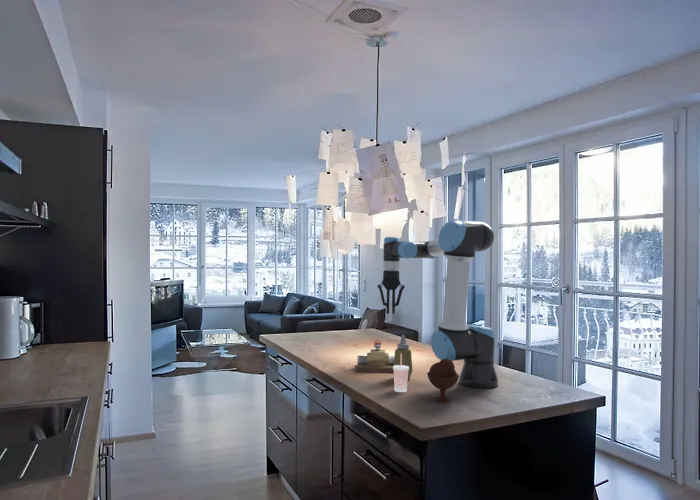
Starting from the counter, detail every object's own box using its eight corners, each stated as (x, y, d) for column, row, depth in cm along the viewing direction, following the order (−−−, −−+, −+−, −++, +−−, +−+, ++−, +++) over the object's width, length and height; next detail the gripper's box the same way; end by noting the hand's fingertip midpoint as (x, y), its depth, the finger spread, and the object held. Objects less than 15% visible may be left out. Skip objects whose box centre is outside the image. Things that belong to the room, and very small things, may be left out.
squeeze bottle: (396, 381, 207) (397, 337, 207) (390, 376, 215) (390, 333, 215) (415, 380, 209) (416, 336, 209) (408, 375, 217) (408, 333, 217)
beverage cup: (408, 393, 191) (408, 355, 191) (391, 392, 192) (392, 354, 192) (409, 388, 197) (409, 352, 197) (393, 387, 198) (393, 351, 198)
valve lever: (381, 350, 228) (381, 345, 228) (374, 350, 228) (374, 345, 228) (380, 344, 242) (380, 340, 242) (374, 344, 243) (374, 339, 243)
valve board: (398, 372, 222) (398, 354, 222) (357, 371, 223) (357, 353, 223) (396, 365, 236) (397, 348, 236) (357, 364, 237) (357, 347, 237)
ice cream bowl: (453, 396, 188) (454, 355, 188) (461, 405, 176) (462, 361, 176) (424, 396, 187) (425, 355, 187) (430, 405, 176) (431, 361, 176)
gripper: (404, 270, 243) (403, 319, 243) (377, 269, 243) (376, 319, 243) (405, 270, 235) (404, 322, 236) (377, 270, 236) (376, 321, 236)
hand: (390, 320), depth 240 cm, fingers closed
